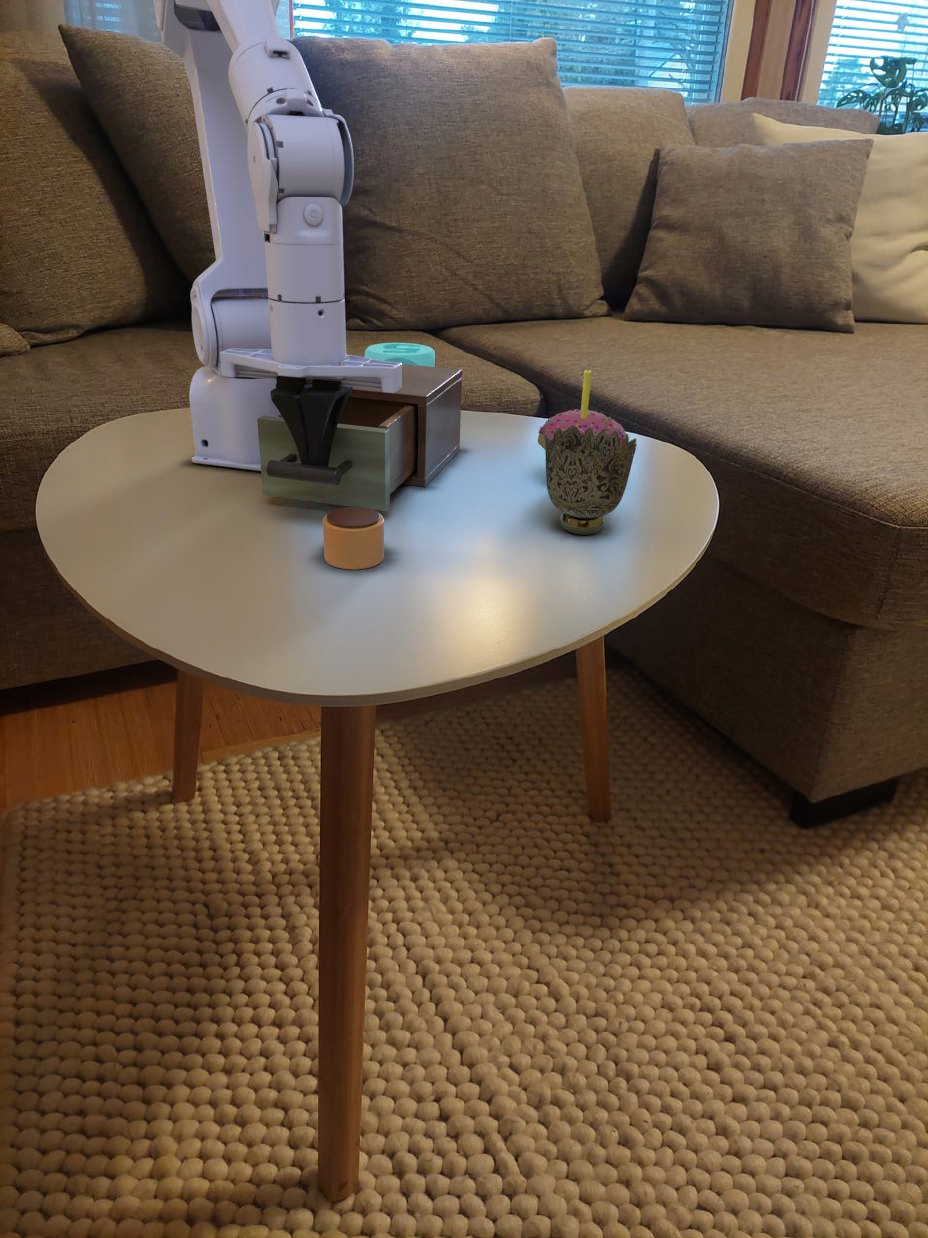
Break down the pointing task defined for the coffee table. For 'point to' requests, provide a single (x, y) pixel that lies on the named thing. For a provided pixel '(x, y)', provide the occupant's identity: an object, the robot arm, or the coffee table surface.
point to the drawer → (345, 456)
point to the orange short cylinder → (353, 538)
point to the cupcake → (581, 418)
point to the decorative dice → (402, 353)
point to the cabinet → (428, 415)
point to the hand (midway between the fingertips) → (315, 471)
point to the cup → (587, 475)
